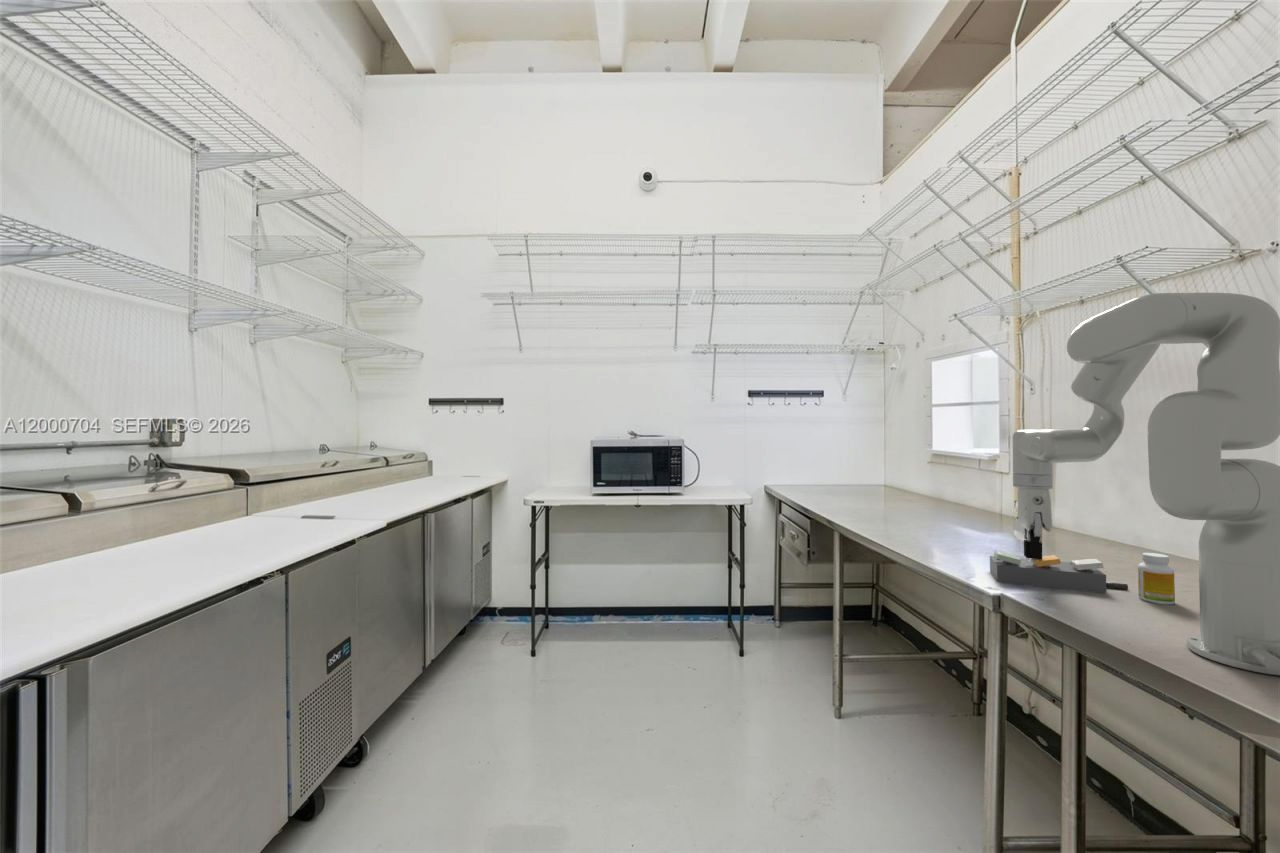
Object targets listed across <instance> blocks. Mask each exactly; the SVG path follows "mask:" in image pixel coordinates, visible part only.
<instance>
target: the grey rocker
mask: <svg viewBox="0 0 1280 853" xmlns="http://www.w3.org/2000/svg"><path fill="white" fill-rule="evenodd" d="M1070 562H1071V563H1072V566H1073V567H1075V568H1076V569H1077V570H1085V569H1104V565H1103V562H1101V560H1099V559H1098V558H1086V559H1085V558H1084V559H1075V560H1070Z"/></svg>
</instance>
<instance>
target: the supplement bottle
mask: <svg viewBox="0 0 1280 853" xmlns="http://www.w3.org/2000/svg"><path fill="white" fill-rule="evenodd" d="M1141 559H1142V561H1143V562H1139V564H1138V565H1137V566H1138V567H1137V579H1138V580H1137V584H1138V586H1137V587H1138V590H1137V591H1138V598H1139V599H1141V600H1142V601H1146V602H1149V603H1154V604H1159V605H1174V604H1175V603H1176V593H1175V592H1176V591H1175V569H1174V568H1173V567H1172V566H1170V565H1168V564H1170V556H1169V555H1166V554H1162V553H1155V552H1143V553H1142V555H1141Z"/></svg>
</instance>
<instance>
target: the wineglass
mask: <svg viewBox="0 0 1280 853" xmlns="http://www.w3.org/2000/svg"><path fill="white" fill-rule="evenodd" d="M1013 534H1014V536H1015V538H1016V539H1018V540H1019V541H1021V542H1024V540H1025V539H1024V527H1023V526H1022V525H1021V524H1020V523H1019V521H1018V516H1017V517H1015V519H1014V524H1013ZM1025 559H1030V558H1026V557H1025Z"/></svg>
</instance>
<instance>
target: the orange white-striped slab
mask: <svg viewBox="0 0 1280 853" xmlns="http://www.w3.org/2000/svg"><path fill="white" fill-rule="evenodd" d="M1032 562H1033V563H1034V564H1035V565H1036V566H1037V567H1040V566H1048V565H1056V564H1061V562H1062V561H1061V560H1060V558H1059V557H1058V556H1056V555H1055V554H1051V555H1042V559H1032Z"/></svg>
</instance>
